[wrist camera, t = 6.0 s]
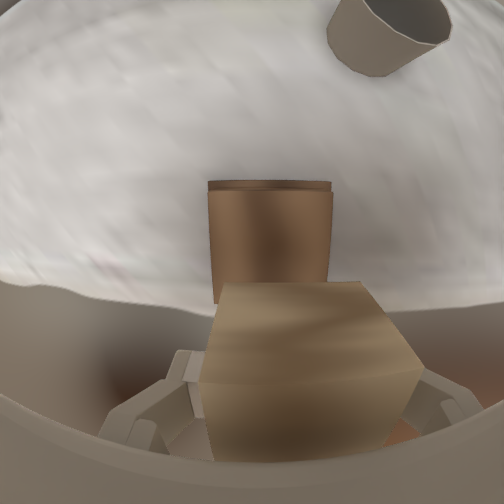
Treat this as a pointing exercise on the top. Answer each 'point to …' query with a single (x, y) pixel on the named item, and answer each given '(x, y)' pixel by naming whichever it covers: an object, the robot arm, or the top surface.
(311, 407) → the maple cube
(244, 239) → the walnut pedestal
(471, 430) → the robot arm
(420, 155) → the top surface
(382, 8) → the cup
